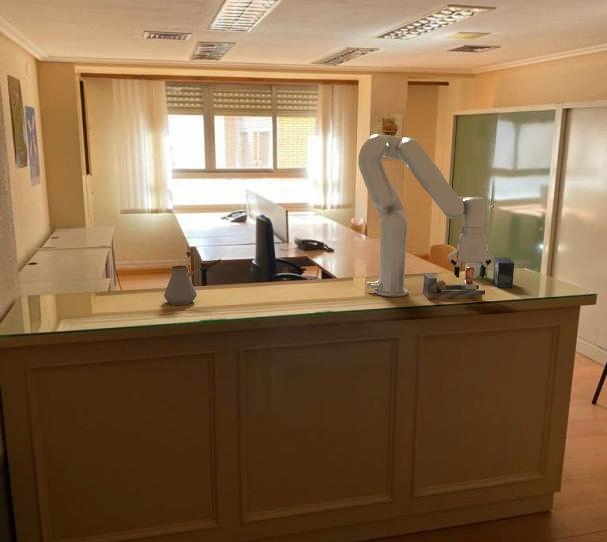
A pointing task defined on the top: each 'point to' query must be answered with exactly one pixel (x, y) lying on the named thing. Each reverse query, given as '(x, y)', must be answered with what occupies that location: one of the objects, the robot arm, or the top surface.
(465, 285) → the ram
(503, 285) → the small box
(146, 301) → the top surface
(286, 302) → the top surface
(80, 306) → the top surface
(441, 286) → the walnut
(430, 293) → the press bench
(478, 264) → the ink box
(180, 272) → the coffee pot
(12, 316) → the top surface
